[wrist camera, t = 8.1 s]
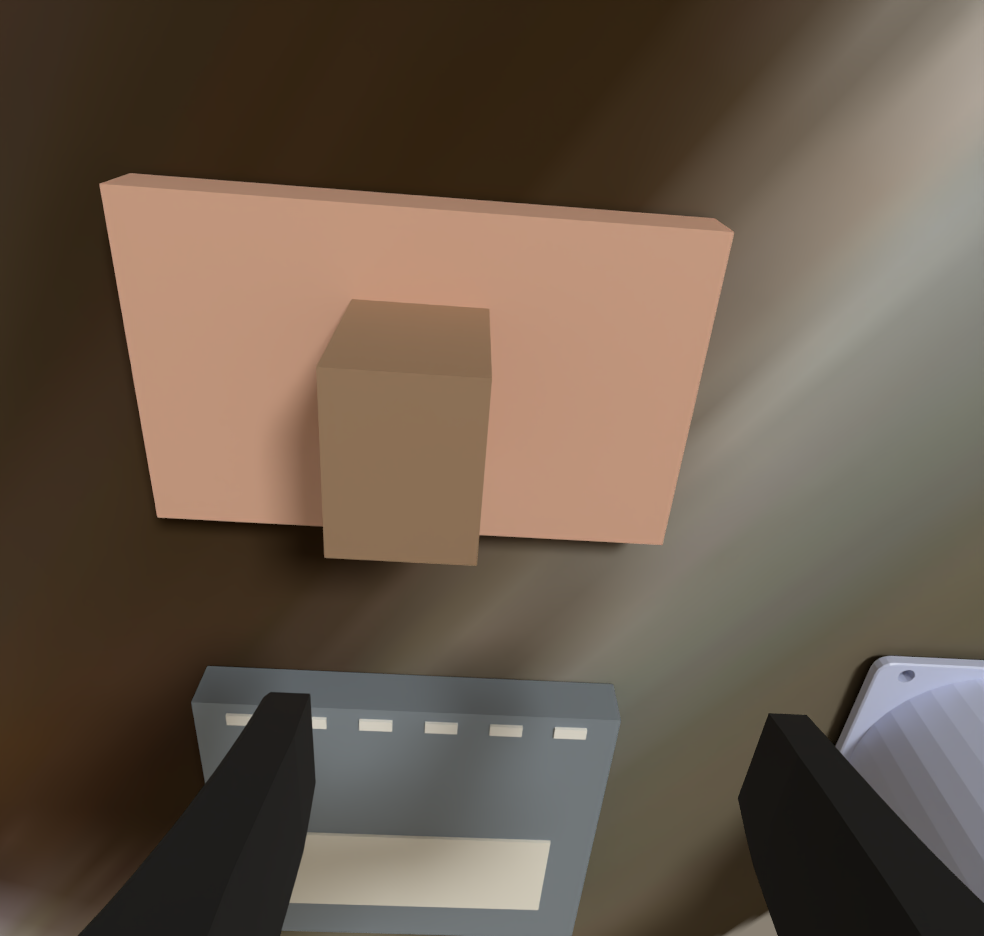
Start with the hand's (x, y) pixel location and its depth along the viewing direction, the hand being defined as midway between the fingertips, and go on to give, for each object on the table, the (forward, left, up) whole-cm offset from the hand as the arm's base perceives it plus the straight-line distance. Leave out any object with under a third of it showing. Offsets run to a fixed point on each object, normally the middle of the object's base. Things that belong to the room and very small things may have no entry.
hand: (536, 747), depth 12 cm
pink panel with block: (+3, -3, -9) cm, 10 cm away
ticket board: (+3, +14, -9) cm, 17 cm away
